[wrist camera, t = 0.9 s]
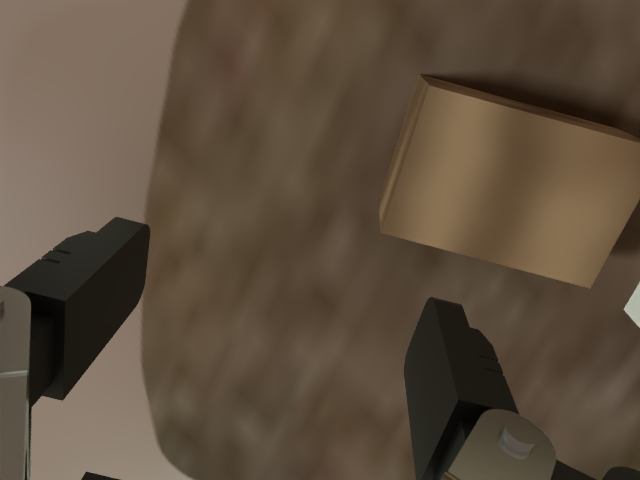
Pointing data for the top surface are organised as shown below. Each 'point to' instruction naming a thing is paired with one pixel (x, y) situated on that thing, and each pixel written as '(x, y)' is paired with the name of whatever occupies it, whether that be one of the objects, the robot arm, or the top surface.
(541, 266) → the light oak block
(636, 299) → the cream rectangular block
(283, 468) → the top surface
